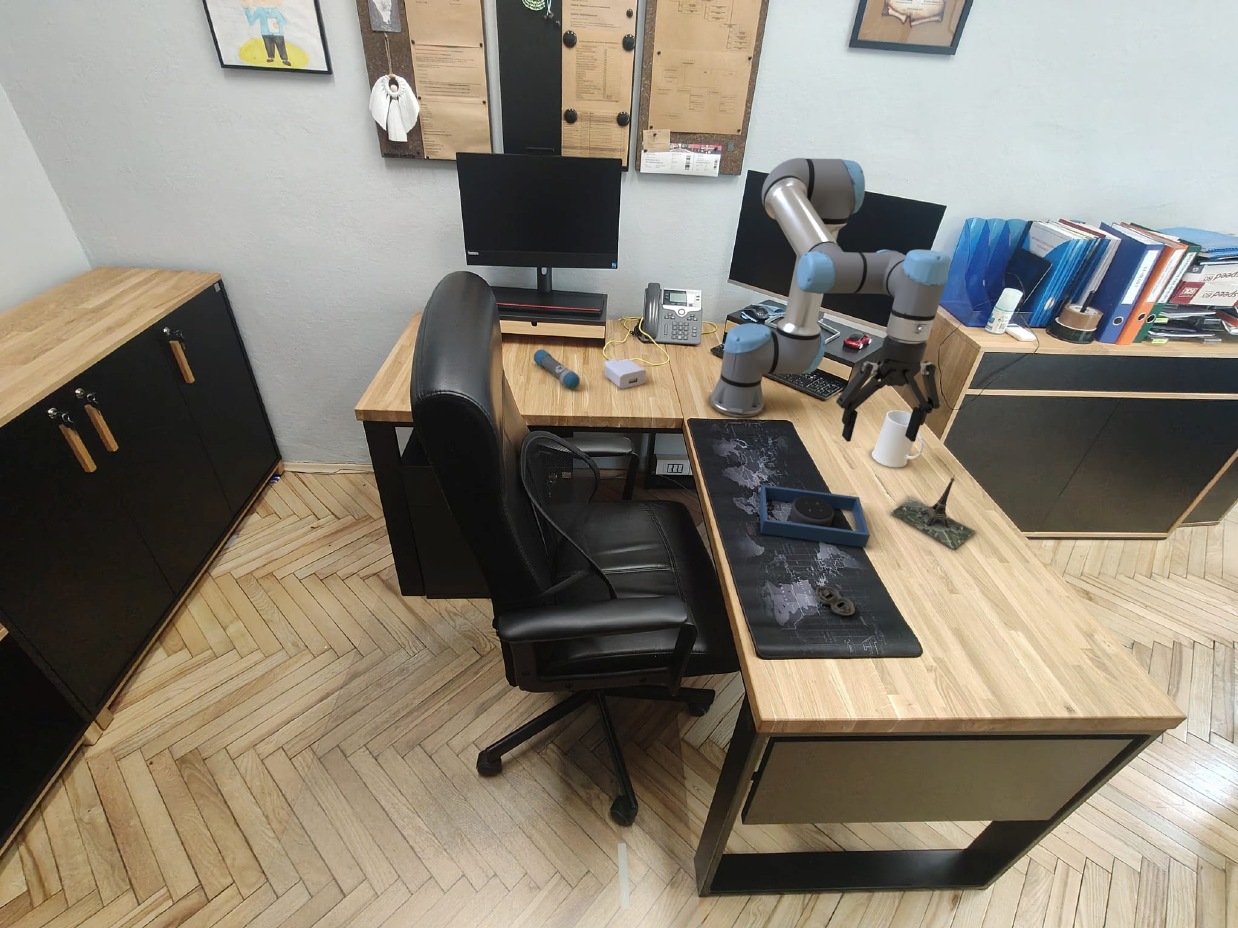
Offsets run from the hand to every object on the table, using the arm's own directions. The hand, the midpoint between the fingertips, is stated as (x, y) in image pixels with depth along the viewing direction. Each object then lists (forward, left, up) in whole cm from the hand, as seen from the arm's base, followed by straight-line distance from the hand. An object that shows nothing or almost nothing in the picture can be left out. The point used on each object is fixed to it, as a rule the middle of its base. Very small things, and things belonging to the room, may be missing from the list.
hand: (878, 438), depth 122 cm
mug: (-24, +14, -20) cm, 35 cm away
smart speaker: (+5, -10, -20) cm, 23 cm away
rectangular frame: (+5, -10, -20) cm, 23 cm away
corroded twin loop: (+29, -8, -20) cm, 36 cm away
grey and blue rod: (-50, -81, -20) cm, 97 cm away
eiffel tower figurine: (0, +17, -20) cm, 26 cm away
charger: (-55, -62, -20) cm, 85 cm away
